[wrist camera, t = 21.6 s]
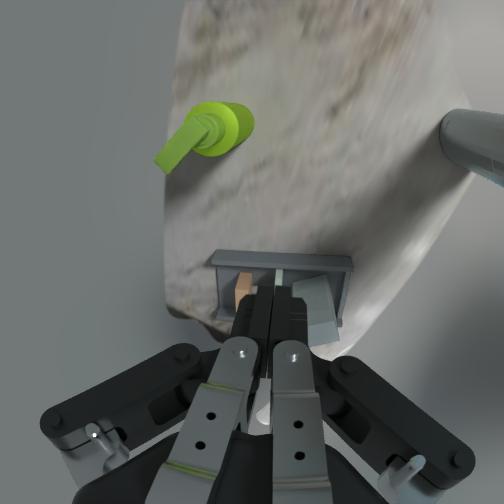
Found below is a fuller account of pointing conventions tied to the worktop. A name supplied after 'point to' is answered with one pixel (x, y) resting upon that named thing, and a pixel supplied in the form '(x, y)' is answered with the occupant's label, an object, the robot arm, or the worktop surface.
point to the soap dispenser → (207, 133)
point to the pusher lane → (265, 272)
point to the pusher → (246, 286)
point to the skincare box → (318, 309)
